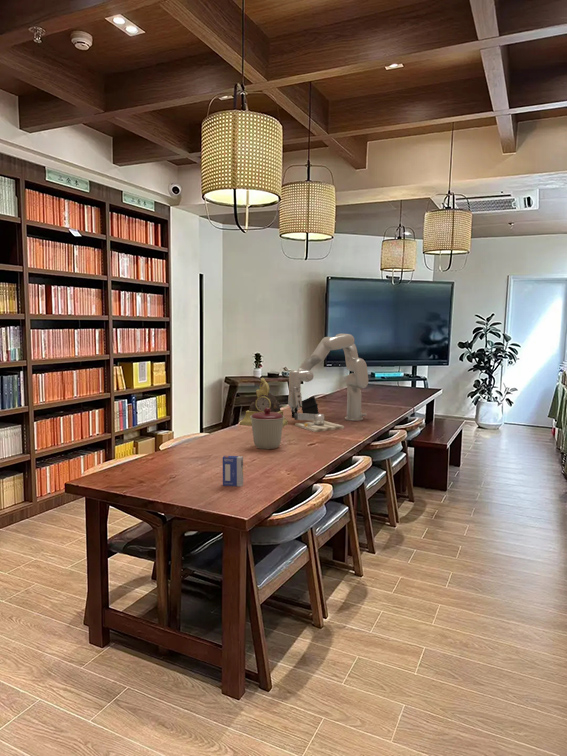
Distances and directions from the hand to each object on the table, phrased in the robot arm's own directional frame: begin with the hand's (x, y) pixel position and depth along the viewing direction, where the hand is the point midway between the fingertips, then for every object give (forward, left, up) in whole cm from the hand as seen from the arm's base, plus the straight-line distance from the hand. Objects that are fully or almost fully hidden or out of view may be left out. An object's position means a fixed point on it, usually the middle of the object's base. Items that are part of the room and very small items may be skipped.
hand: (294, 417), depth 337 cm
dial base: (-8, +17, -4) cm, 19 cm away
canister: (+47, +47, -4) cm, 66 cm away
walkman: (+91, +96, -4) cm, 132 cm away
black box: (-22, -15, -4) cm, 27 cm away
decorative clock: (+18, -8, -5) cm, 20 cm away
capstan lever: (-4, +11, -2) cm, 12 cm away
